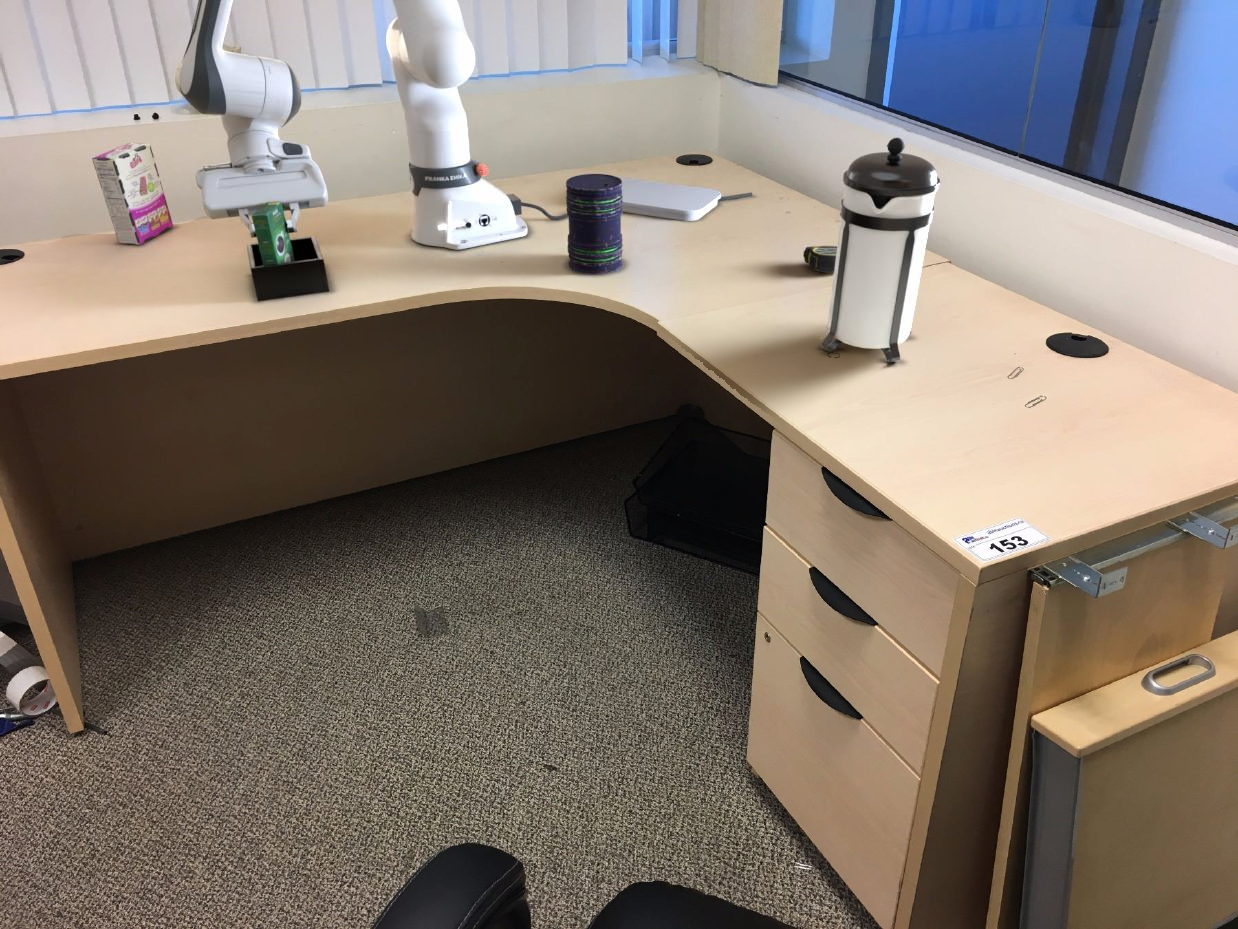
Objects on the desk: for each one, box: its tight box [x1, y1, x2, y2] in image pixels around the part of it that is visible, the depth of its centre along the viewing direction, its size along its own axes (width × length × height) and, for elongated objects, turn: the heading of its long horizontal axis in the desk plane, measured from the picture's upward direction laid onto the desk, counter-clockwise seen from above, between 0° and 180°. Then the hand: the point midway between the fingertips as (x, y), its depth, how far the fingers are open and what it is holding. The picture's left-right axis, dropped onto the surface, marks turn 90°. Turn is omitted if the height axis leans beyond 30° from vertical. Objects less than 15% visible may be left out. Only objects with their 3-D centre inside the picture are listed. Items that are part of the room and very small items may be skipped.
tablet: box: [619, 177, 722, 222], centre depth 199 cm, size 16×26×2 cm, turn 64°
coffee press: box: [821, 137, 941, 364], centre depth 134 cm, size 17×16×30 cm
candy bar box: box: [91, 142, 174, 246], centre depth 179 cm, size 11×5×16 cm, turn 168°
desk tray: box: [246, 235, 330, 302], centre depth 161 cm, size 12×13×6 cm
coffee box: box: [250, 202, 295, 265], centre depth 159 cm, size 8×3×13 cm, turn 179°
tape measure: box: [803, 245, 838, 274], centre depth 166 cm, size 7×7×4 cm
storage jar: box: [565, 173, 624, 276], centre depth 165 cm, size 10×10×15 cm
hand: (274, 233), depth 159 cm, fingers open, 5 cm apart
